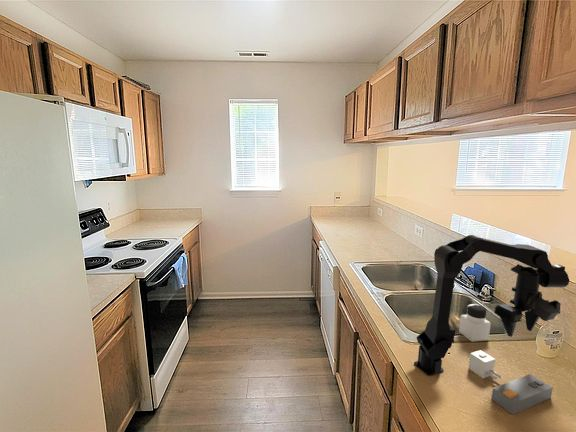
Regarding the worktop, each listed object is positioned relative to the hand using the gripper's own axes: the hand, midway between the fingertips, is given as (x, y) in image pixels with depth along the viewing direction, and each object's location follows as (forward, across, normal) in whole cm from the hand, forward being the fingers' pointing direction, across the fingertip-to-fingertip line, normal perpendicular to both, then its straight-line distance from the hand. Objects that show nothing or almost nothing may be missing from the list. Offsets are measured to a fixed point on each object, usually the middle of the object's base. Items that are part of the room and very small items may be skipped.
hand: (519, 333), depth 104 cm
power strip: (+12, -12, -10) cm, 20 cm away
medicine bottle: (+12, +4, +18) cm, 22 cm away
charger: (+12, -12, +1) cm, 17 cm away
